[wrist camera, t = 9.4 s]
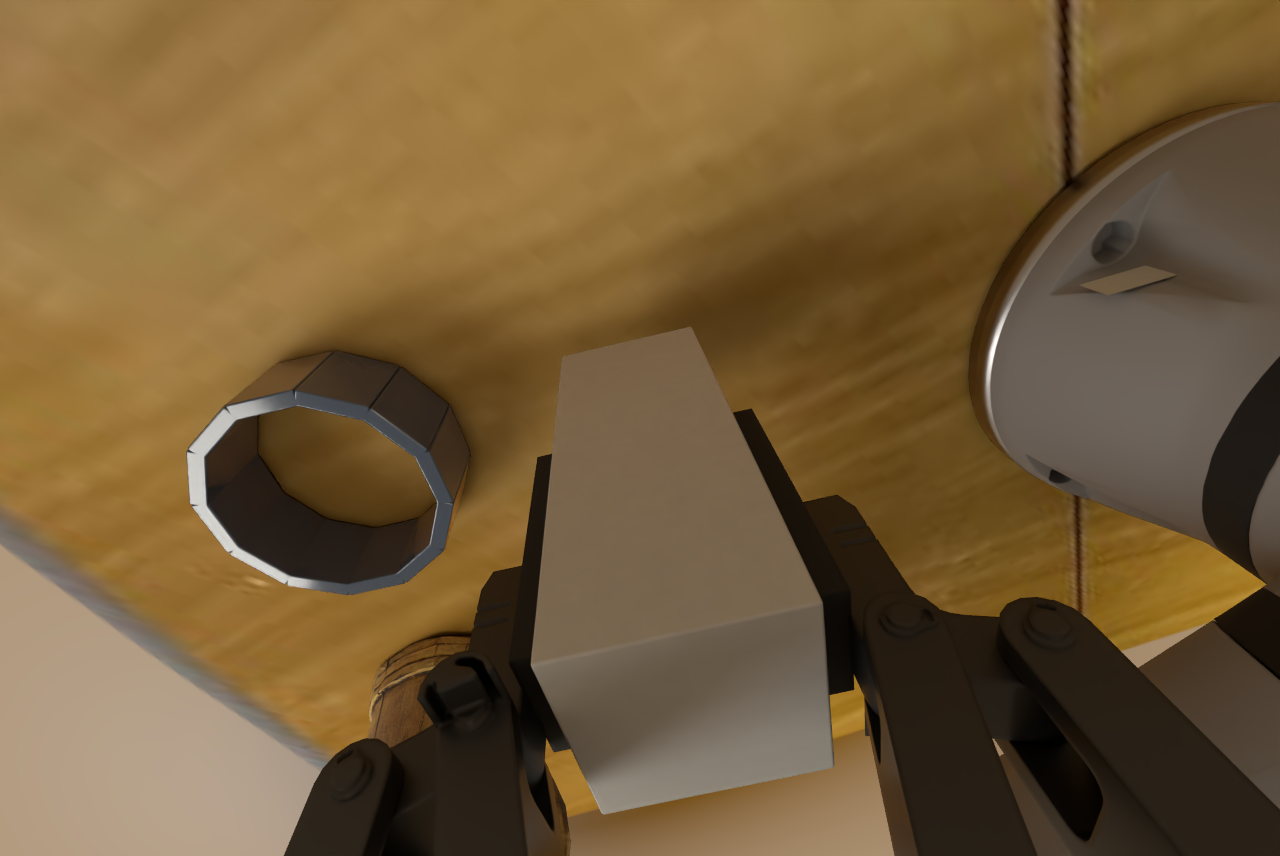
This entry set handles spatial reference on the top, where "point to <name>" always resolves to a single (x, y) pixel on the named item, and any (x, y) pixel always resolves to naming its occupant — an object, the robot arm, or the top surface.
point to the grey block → (672, 588)
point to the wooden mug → (401, 711)
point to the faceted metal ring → (297, 536)
